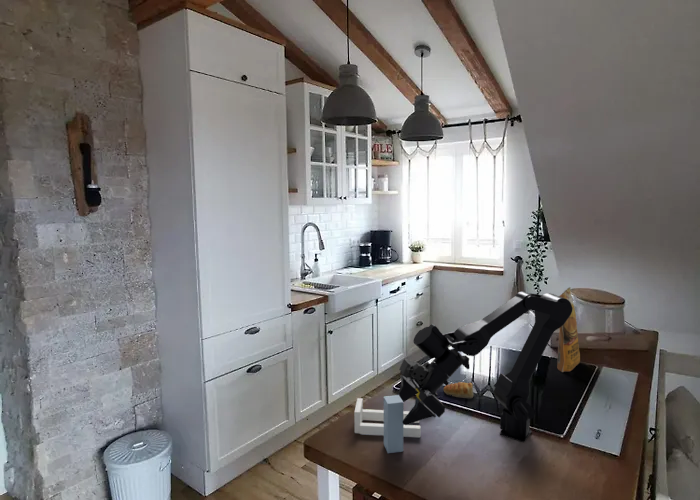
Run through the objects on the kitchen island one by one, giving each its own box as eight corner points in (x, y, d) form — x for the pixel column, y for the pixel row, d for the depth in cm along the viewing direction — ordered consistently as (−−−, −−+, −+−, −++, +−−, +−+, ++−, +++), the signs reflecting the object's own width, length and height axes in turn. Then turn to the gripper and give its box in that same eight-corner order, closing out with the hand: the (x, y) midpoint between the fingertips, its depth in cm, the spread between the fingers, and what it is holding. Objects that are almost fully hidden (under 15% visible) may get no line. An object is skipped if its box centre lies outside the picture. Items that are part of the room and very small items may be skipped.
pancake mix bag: (547, 370, 160) (551, 294, 156) (565, 355, 174) (569, 285, 170) (567, 375, 155) (572, 296, 151) (584, 360, 169) (588, 287, 165)
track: (419, 420, 127) (419, 400, 126) (420, 437, 118) (420, 416, 117) (357, 417, 129) (357, 397, 128) (354, 434, 120) (354, 412, 119)
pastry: (443, 398, 140) (443, 386, 140) (443, 388, 147) (443, 377, 147) (474, 399, 139) (474, 388, 138) (472, 390, 146) (472, 379, 145)
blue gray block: (398, 442, 116) (398, 395, 114) (403, 451, 112) (403, 402, 110) (383, 444, 115) (383, 396, 113) (387, 453, 111) (387, 403, 109)
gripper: (408, 337, 120) (368, 379, 120) (433, 363, 102) (385, 413, 101) (435, 363, 123) (396, 404, 122) (464, 393, 104) (418, 442, 104)
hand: (398, 414), depth 112 cm, fingers open, 9 cm apart
